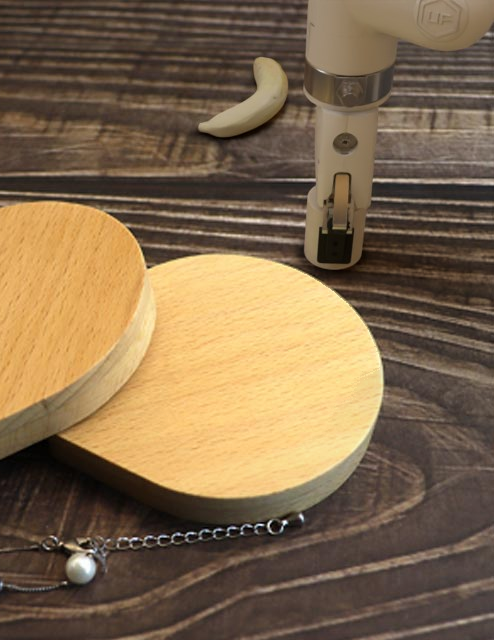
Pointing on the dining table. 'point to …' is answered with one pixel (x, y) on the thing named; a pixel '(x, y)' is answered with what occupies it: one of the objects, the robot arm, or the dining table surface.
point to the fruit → (253, 102)
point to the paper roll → (315, 221)
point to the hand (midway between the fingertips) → (333, 239)
